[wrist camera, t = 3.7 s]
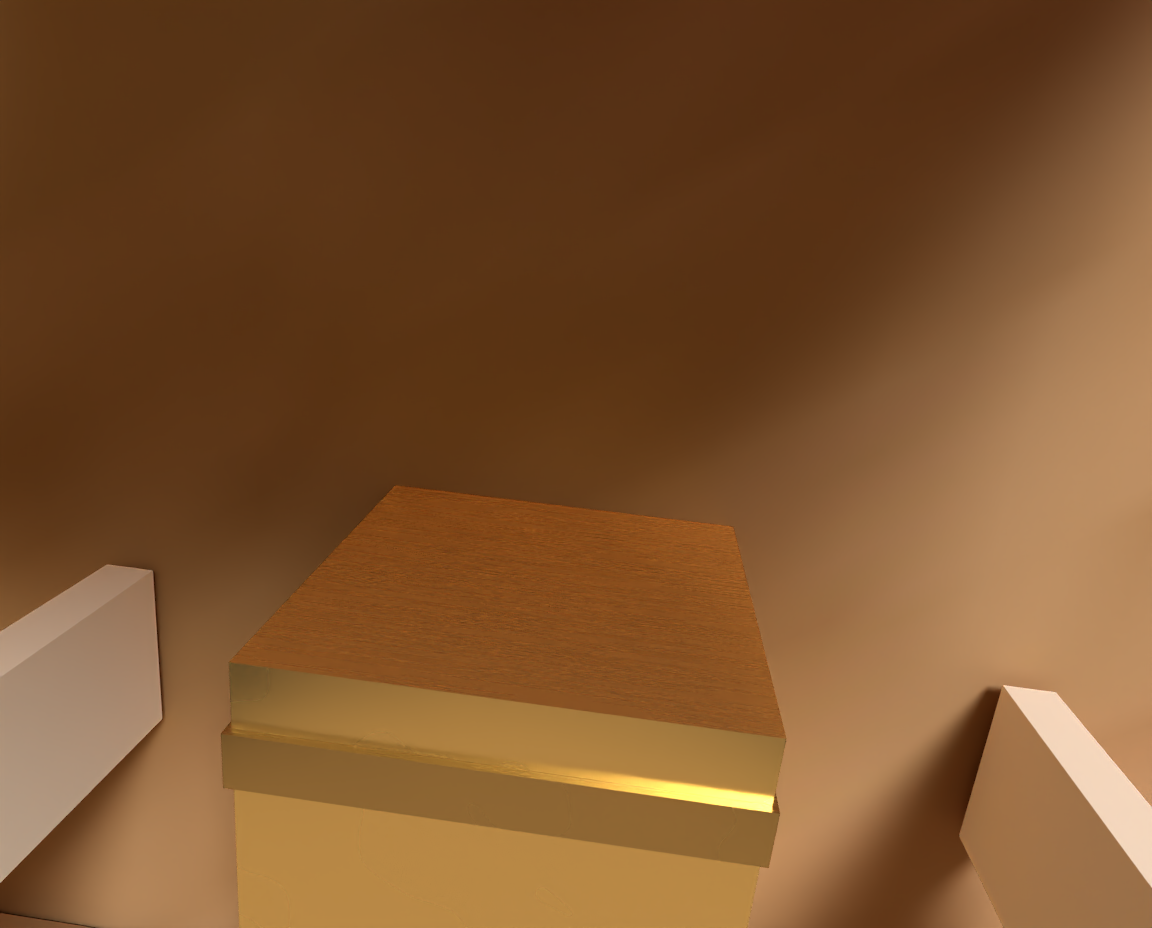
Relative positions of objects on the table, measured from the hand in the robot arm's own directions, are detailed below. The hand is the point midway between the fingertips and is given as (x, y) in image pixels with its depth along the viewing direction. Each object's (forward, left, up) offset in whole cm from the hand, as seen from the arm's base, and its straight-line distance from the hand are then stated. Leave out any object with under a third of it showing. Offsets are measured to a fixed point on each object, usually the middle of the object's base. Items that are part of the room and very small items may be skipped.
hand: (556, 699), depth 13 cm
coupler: (0, 0, 0) cm, 0 cm away
